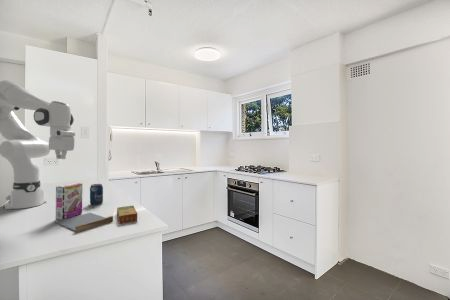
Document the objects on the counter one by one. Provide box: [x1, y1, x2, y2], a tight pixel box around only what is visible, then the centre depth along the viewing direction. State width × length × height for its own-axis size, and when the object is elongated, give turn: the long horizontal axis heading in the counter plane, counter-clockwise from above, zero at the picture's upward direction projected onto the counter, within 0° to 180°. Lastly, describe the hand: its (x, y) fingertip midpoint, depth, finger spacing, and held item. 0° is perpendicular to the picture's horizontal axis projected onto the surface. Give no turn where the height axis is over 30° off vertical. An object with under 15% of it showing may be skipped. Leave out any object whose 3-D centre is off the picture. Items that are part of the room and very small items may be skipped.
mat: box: [54, 212, 106, 232], centre depth 105 cm, size 19×16×1 cm
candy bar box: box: [55, 182, 83, 221], centre depth 112 cm, size 11×5×16 cm, turn 168°
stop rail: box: [74, 215, 114, 233], centre depth 100 cm, size 1×16×2 cm, turn 149°
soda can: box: [89, 183, 104, 206], centre depth 135 cm, size 7×7×12 cm
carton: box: [116, 205, 138, 225], centre depth 112 cm, size 8×16×4 cm, turn 29°
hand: (60, 158), depth 116 cm, fingers open, 3 cm apart
